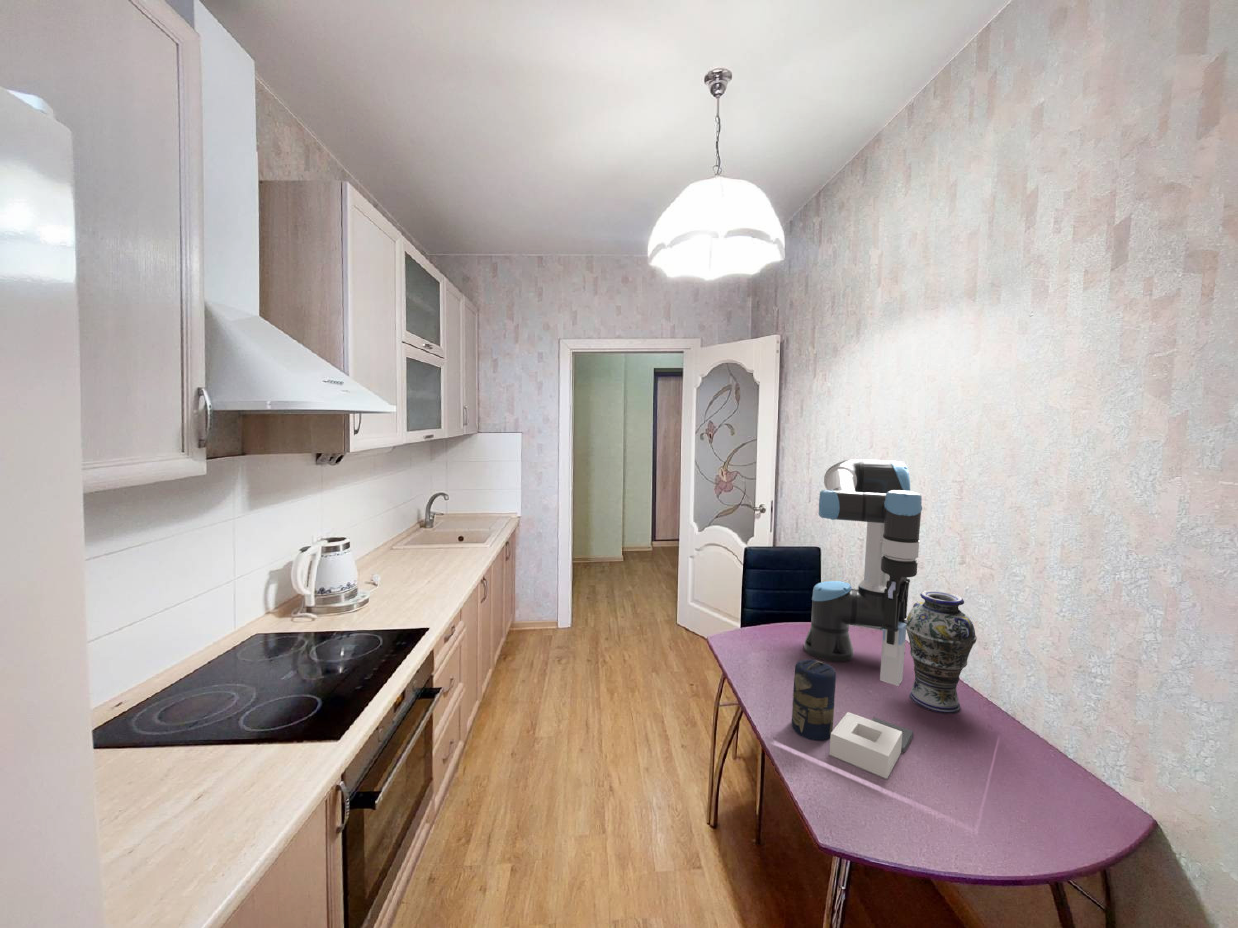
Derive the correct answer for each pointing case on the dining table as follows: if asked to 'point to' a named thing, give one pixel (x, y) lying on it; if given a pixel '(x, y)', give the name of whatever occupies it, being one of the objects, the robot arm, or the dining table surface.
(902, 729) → the gray recessed square plate
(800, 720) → the canister
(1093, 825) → the dining table surface
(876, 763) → the block
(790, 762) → the dining table surface
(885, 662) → the plug
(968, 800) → the dining table surface
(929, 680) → the vase
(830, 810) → the dining table surface
